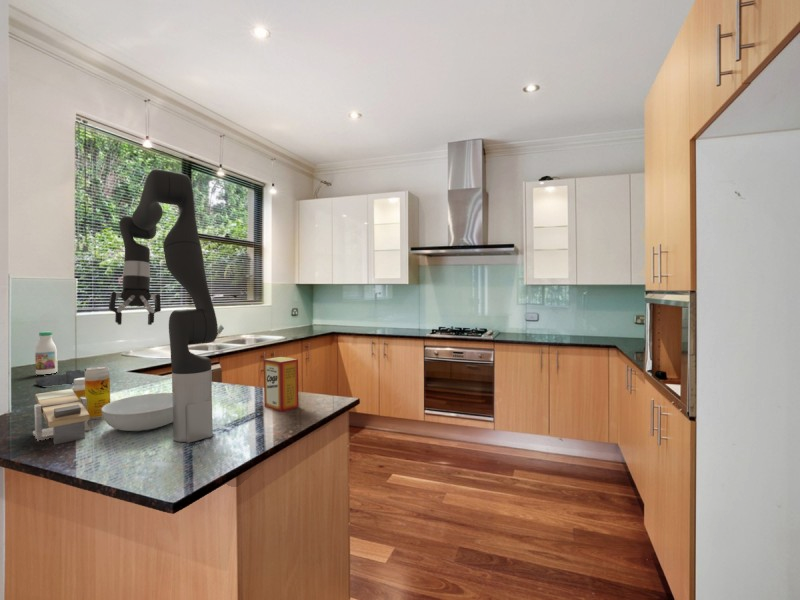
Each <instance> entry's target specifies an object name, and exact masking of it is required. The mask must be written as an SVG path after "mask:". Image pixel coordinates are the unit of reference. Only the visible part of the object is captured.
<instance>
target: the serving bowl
mask: <svg viewBox="0 0 800 600" xmlns="http://www.w3.org/2000/svg"><path fill="white" fill-rule="evenodd" d="M101 411H102V416H103V418H102V419H103V421H104V422H105V424H107V425H108V426H109V427H111V428H112V429H115V430H119V431H125V432H126V431H127V432H128V431H129V432H130V431H131V432H143V430H145V431H150V429H151V430H156V429H158V427H159V428H162V427H163V426H166V425H168V424H171V423H173V404H172V392H157V393H146V394H140V395H134V396H127V397H123V398H120V399H117V400H116V399H115V400H114V401H110V403H108V404H106V405H105V406H103V407H102V409H101Z"/></svg>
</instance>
